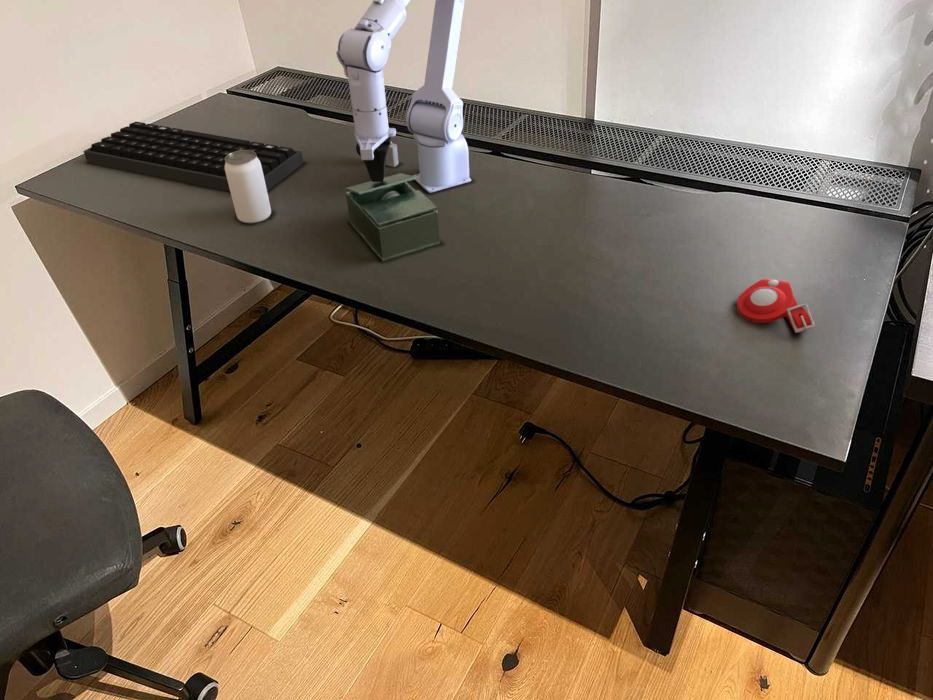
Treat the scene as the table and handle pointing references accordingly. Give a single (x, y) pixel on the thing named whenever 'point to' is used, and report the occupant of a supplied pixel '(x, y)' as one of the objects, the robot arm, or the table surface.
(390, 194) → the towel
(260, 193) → the can
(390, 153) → the lighter
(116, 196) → the table surface
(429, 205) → the green lidded box
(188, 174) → the computer keyboard
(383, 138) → the robot arm
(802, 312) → the tracker holder
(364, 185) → the green flat panel
